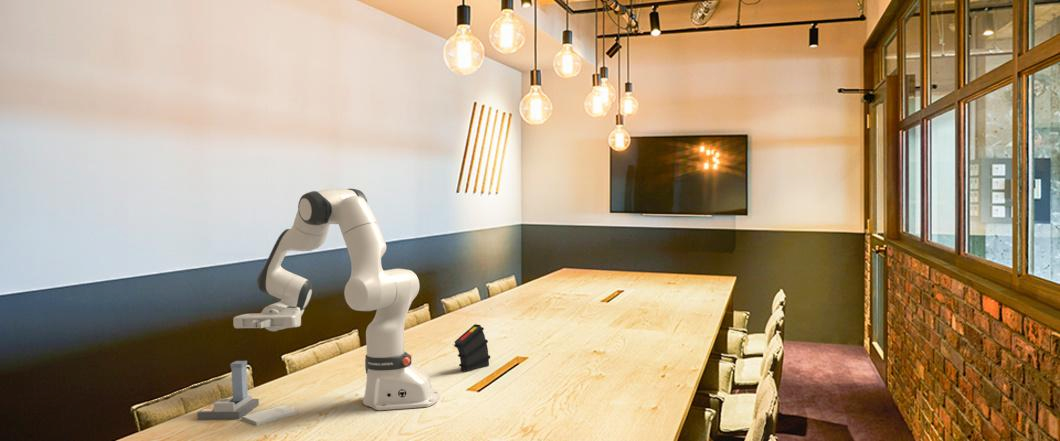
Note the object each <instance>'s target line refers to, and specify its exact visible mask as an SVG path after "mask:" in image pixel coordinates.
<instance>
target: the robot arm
mask: <svg viewBox="0 0 1060 441" xmlns="http://www.w3.org/2000/svg"><path fill="white" fill-rule="evenodd" d="M294 217H295V218H294V221H293V225H292V226H291V228H286V229H284V230H283V231H282V232H281V233H280V235H279V236H278V238H277V240H276V241H275V243H274V245H273V247H272V249H271V251H270V253H269V255H268V258H267V260H266V262H265V264H264V266H263V268H262V269H261V271H260V272H259V274H258V277H257V279H256V285H257V287H258V290H259V291H260V293H263V294H266V295H269V296H272V297H275V298H276V299H279V300H280V301H278V302H274V303H272V304H269V305H266V306H265V307H264V308H263V309H262V311H261V312H259V313H244V314H238V315H236V316H234V317H233V321H232V322H233V328H234V329H263V328H264V329H265V330H268V331H270V332H277V331H280V330H285V329H291V328H292V329H293V328H298V327H300V326H302V316H303V314H304V312H305V309H306V308H307V307H308V305H309V304H310V302H311V299H312V297H313V292H314V290H313V284H312V282H311V280H310V279H307V278H305V277H303V276H301V275H298V274H296V273H293V272H290V271H288V270H286V269H284V267H282V263H283V260H284V259H285V256H286V255H287V253H288V252H289V251H295V252H297V251H298V252H310V251H313V250H317V249H319V248H320V247H321V246H323V244H324V243H325V241H326V239H327V237H328V236H327V235H328V232H329V228H330V225H338V226H339V229H340V232H341V236H342V238H343V240H344V243H345V246H346V248H347V252H348V255H349V258H350V264H351V273H350V277H349V279H348V280H347V282H346V284H345V287H344V299H345V302H346V304H347V305H348V306H349V308H350V309H352V310H354V311H358V312H359V311H360V312H372V311H376V312H375V316H374V318H373V319H372V321H371V322H370V323H369V324H368V325H367V327H366V331H365V342H366V346H365V347H366V354H365V356H364V357H365V360H364V366H365V367H364V368H365V374H366V383H365V391H364V396H363V400H362V403H363V405H365V406H367V407H370V408H373V409H374V410H375V411H389V410H400V409H401V410H404V409H413V408H414V409H415V408H416V409H417V408H427V407H430V406H432V405H435V404H436V403H437V402H438V401H439V399H440V392H439V391H438V390H437V389H433V388H432V383H431V382H432V381H431V380H430V377H429V375H428V374H426V373H424V372H423V371H422V370H420V369H419V368H417V367H416V366H415V365H413V364H412V356H413V354H412V353H410V354H409V353H408V352H406V351H405V324H406V320H407V316H408V312H409V309H410V308H411V305H412V303H413V301H414V299H416V297H417V295H418V294H419V293H420V292H419V291H420V280H419V278H418V276H417V274H416V273H415V272H414V271H413V270H410V269H407V268H406V269H405V268H392V269H386V270H384V269H383V267H382V266H383V265H382V257H383V256H384V254H385V253H386V251H387V244H386V241H385V238H384V235H383V233H382V230H381V227H380V226H379V223H378V221H377V218H376V216H375V214H374V212H373V209H372V208H371V207H370V206H369V203H368V199H367V197H366V195H365V194H364V192H363V191H361V190H359V189H355V188H345V189H344V188H340V189H339V188H329V189H322V190H312V191H308V192H305V193H304V194H303V195H301V196H300V198H299V201H298V206H297V212H296V214H295V216H294Z"/></svg>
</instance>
